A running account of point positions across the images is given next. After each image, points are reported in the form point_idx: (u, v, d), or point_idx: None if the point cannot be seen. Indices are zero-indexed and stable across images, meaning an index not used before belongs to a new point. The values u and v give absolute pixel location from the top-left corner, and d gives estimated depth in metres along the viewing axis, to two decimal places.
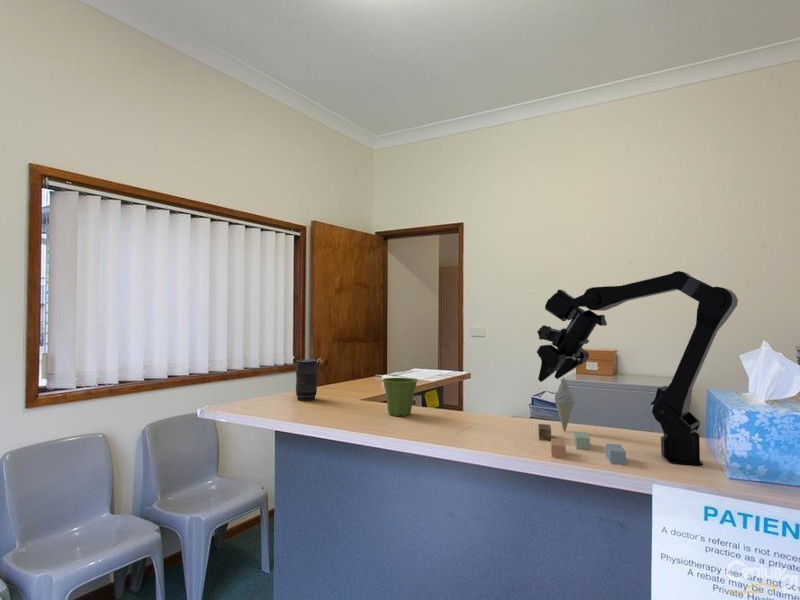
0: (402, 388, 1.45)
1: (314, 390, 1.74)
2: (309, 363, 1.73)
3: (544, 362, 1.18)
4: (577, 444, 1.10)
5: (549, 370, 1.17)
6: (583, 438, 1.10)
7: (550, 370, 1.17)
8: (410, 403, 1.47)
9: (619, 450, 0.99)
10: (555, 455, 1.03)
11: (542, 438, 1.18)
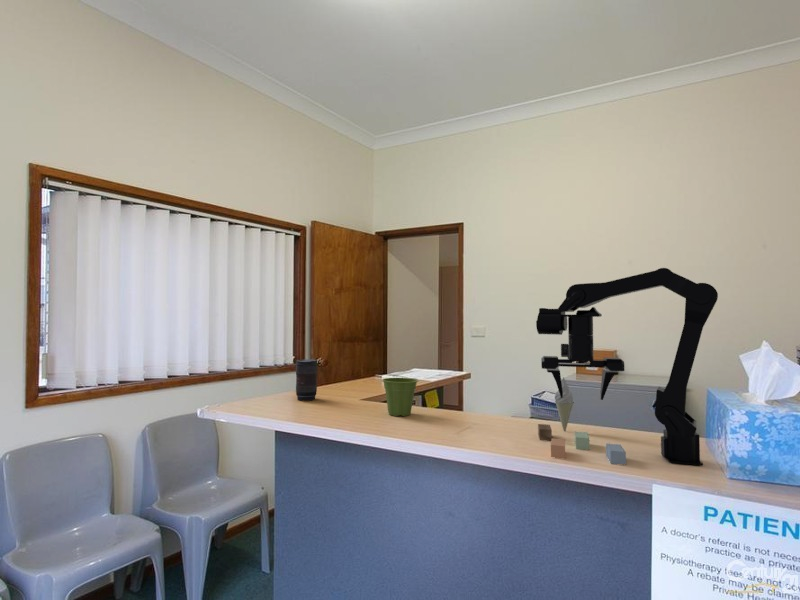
0: (402, 388, 1.45)
1: (314, 390, 1.74)
2: (309, 363, 1.73)
3: None
4: (576, 444, 1.10)
5: None
6: (582, 438, 1.10)
7: (555, 379, 1.13)
8: (410, 403, 1.47)
9: (619, 450, 0.99)
10: (554, 455, 1.03)
11: (542, 438, 1.18)
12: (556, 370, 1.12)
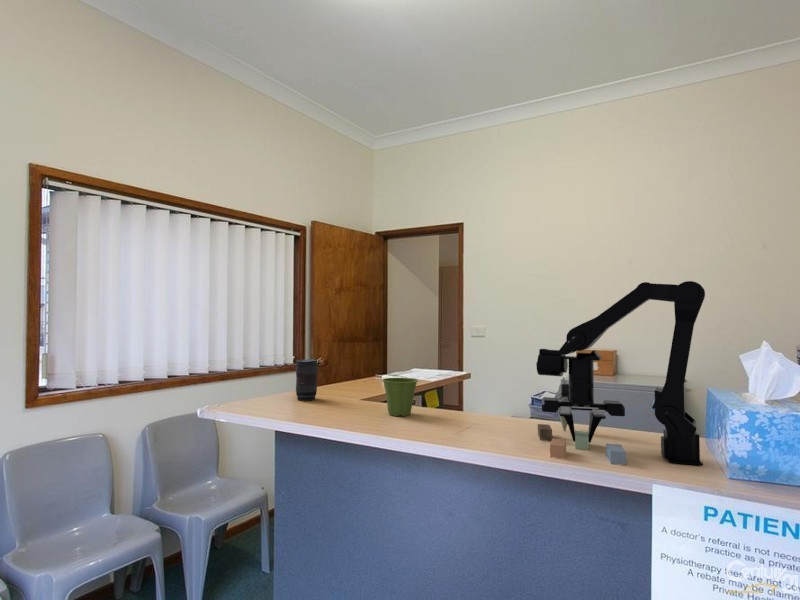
0: (402, 388, 1.45)
1: (314, 390, 1.74)
2: (309, 363, 1.73)
3: None
4: (576, 443, 1.10)
5: None
6: (582, 437, 1.10)
7: None
8: (410, 403, 1.47)
9: (619, 450, 0.99)
10: (554, 455, 1.03)
11: (543, 438, 1.18)
12: (569, 414, 1.11)
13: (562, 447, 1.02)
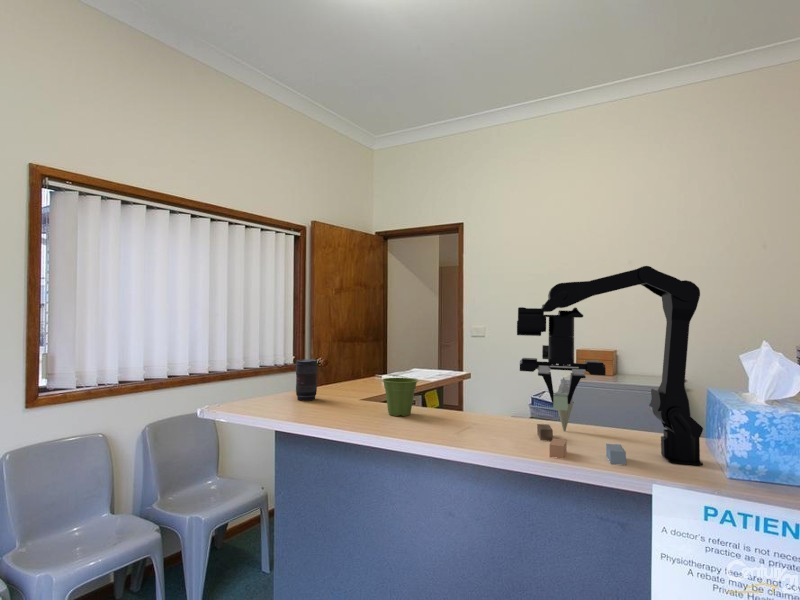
0: (402, 388, 1.45)
1: (314, 390, 1.74)
2: (309, 363, 1.73)
3: None
4: (554, 403, 1.05)
5: None
6: (560, 397, 1.05)
7: None
8: (410, 403, 1.47)
9: (619, 450, 0.99)
10: (553, 455, 1.03)
11: (543, 438, 1.18)
12: (547, 373, 1.06)
13: (561, 447, 1.02)
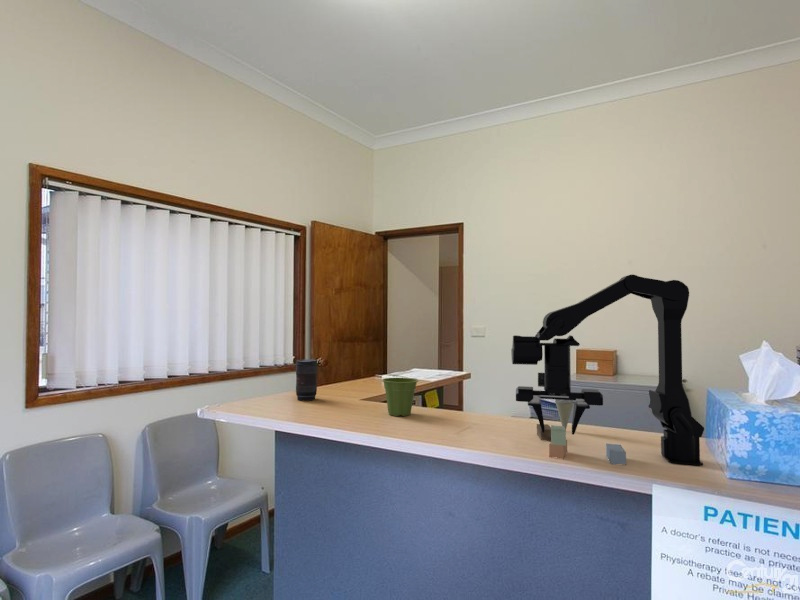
0: (402, 388, 1.45)
1: (314, 390, 1.74)
2: (309, 363, 1.73)
3: None
4: (552, 438, 1.03)
5: None
6: (559, 432, 1.03)
7: None
8: (410, 403, 1.47)
9: (619, 450, 0.99)
10: (553, 454, 1.03)
11: (544, 438, 1.18)
12: (537, 403, 1.05)
13: (561, 447, 1.02)
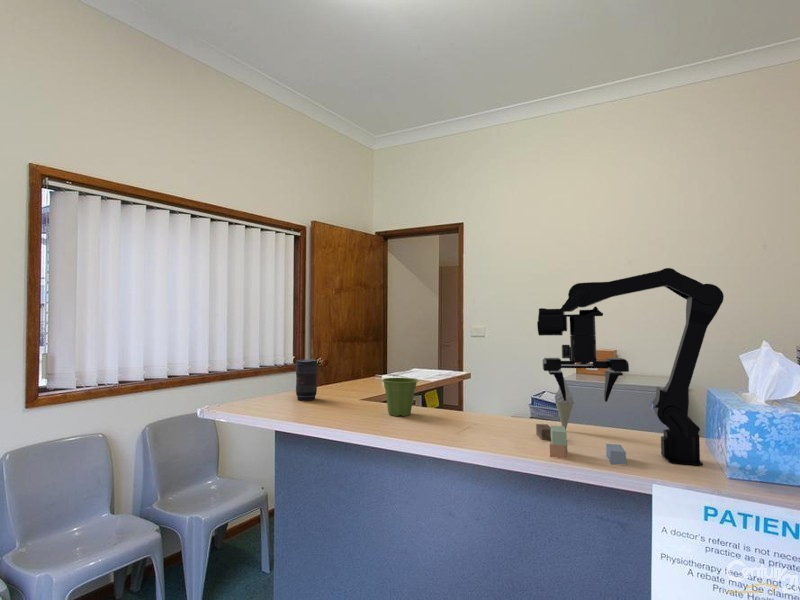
0: (402, 388, 1.45)
1: (314, 390, 1.74)
2: (309, 363, 1.73)
3: None
4: (553, 439, 1.03)
5: None
6: (559, 432, 1.03)
7: (557, 381, 1.10)
8: (410, 403, 1.47)
9: (619, 450, 0.99)
10: (553, 454, 1.03)
11: (545, 438, 1.18)
12: (559, 372, 1.09)
13: (562, 447, 1.02)
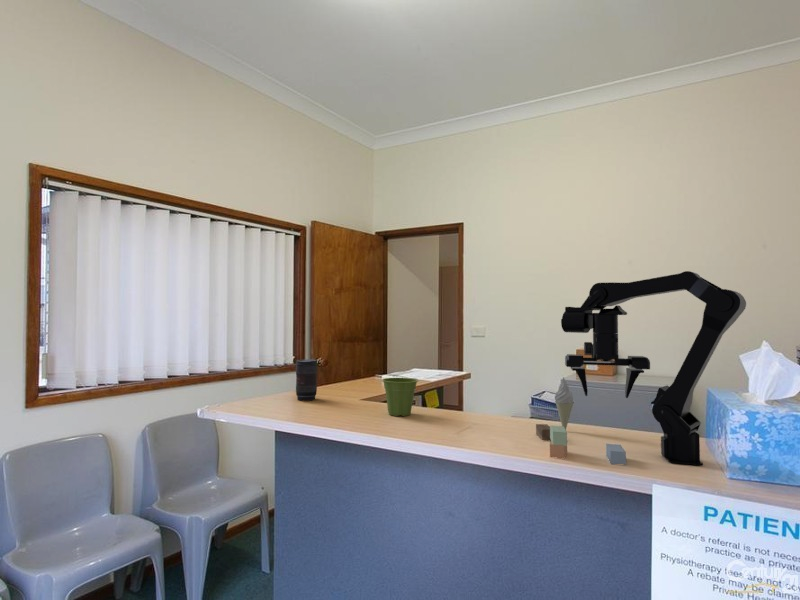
0: (402, 388, 1.45)
1: (314, 390, 1.74)
2: (309, 363, 1.73)
3: None
4: (554, 439, 1.03)
5: None
6: (560, 432, 1.03)
7: (579, 377, 1.14)
8: (410, 403, 1.47)
9: (619, 450, 0.99)
10: (553, 454, 1.03)
11: (545, 438, 1.18)
12: (581, 368, 1.13)
13: (562, 447, 1.02)
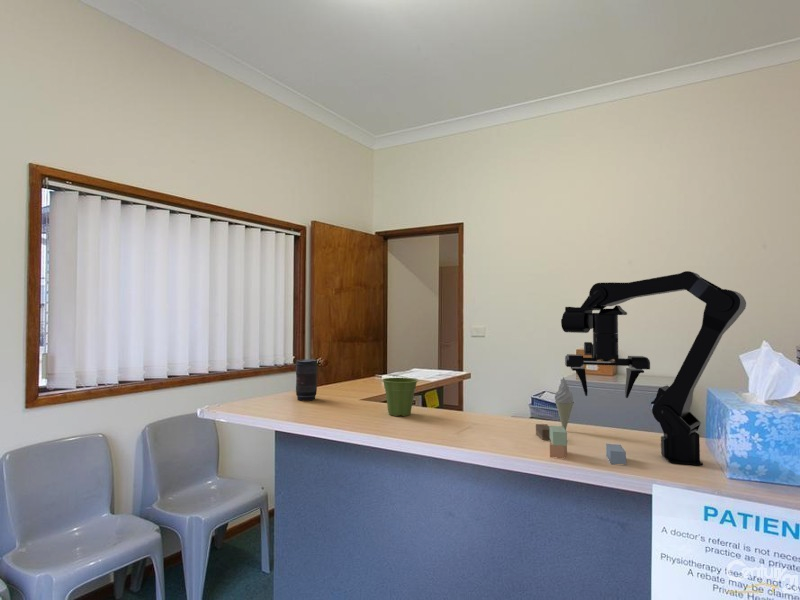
0: (402, 388, 1.45)
1: (314, 390, 1.74)
2: (309, 363, 1.73)
3: None
4: (554, 439, 1.03)
5: None
6: (560, 432, 1.03)
7: (579, 377, 1.14)
8: (410, 403, 1.47)
9: (619, 450, 0.99)
10: (553, 455, 1.03)
11: (545, 438, 1.18)
12: (581, 368, 1.13)
13: (562, 447, 1.02)
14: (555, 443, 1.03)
